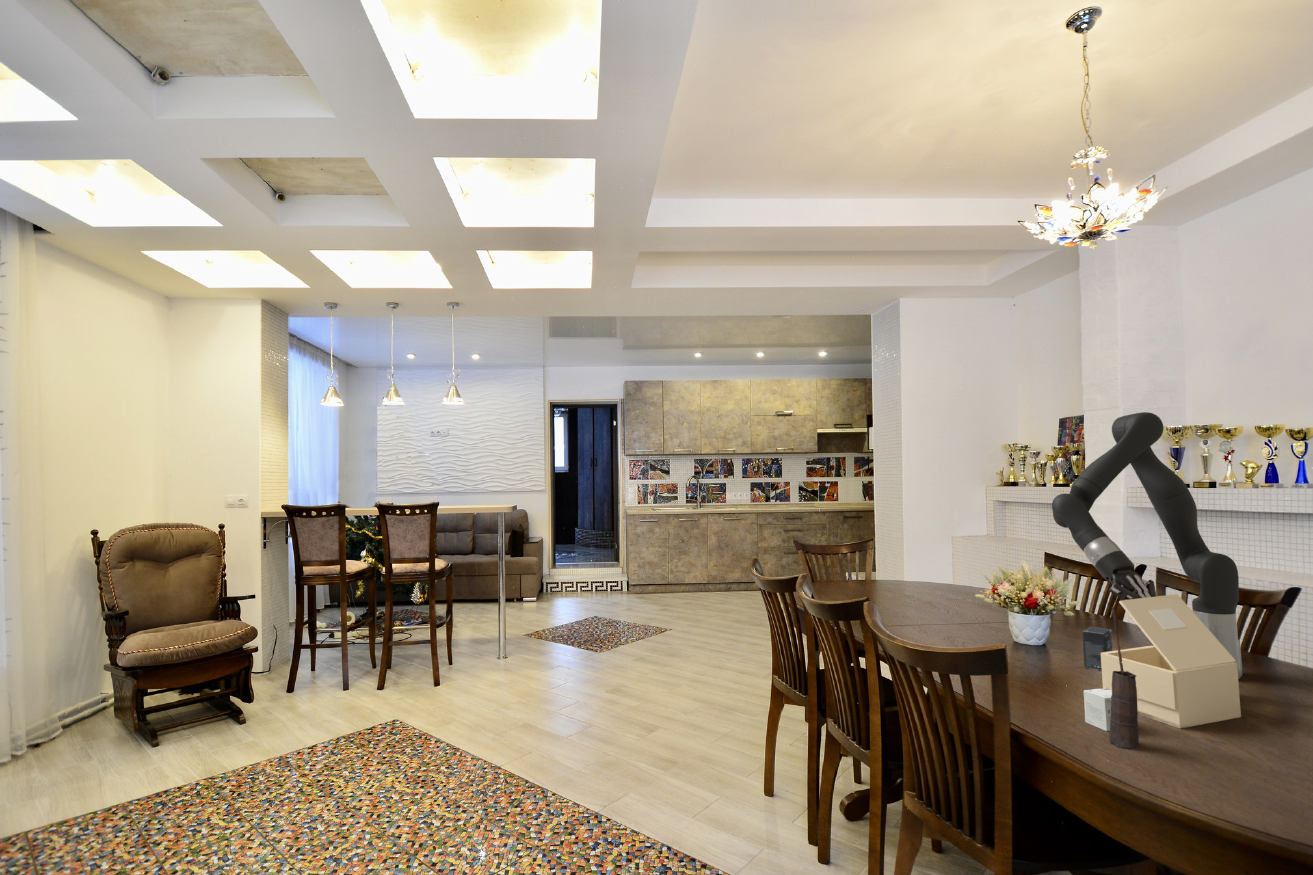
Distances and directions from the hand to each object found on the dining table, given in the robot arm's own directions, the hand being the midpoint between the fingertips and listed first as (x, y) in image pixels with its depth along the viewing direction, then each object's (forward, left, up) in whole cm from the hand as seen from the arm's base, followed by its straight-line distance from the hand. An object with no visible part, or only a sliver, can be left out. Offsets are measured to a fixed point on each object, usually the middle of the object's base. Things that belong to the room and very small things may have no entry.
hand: (1157, 616), depth 164 cm
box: (-16, -30, -22) cm, 41 cm away
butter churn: (+28, +14, -22) cm, 38 cm away
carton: (0, +2, -22) cm, 22 cm away
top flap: (0, +4, -3) cm, 5 cm away
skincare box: (+22, +4, -22) cm, 31 cm away
